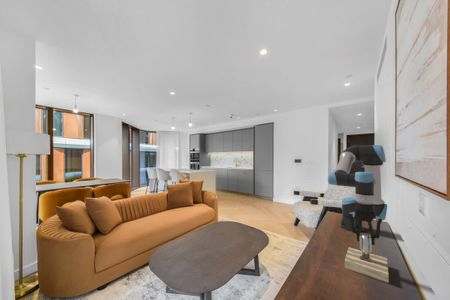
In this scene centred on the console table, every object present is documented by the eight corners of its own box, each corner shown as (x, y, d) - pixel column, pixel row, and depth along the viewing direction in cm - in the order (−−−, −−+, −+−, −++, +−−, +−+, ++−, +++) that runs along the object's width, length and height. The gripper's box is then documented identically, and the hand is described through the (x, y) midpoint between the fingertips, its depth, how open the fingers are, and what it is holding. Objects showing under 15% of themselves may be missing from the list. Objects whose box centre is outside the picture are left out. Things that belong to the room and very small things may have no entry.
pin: (362, 254, 90) (361, 233, 91) (370, 257, 88) (369, 234, 89) (361, 257, 88) (361, 235, 88) (369, 259, 86) (369, 237, 86)
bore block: (348, 254, 99) (348, 247, 99) (387, 266, 89) (386, 258, 89) (344, 268, 87) (344, 259, 87) (388, 283, 77) (388, 274, 77)
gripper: (344, 201, 92) (345, 246, 91) (386, 207, 81) (388, 258, 80) (346, 198, 97) (347, 241, 96) (386, 203, 87) (387, 252, 86)
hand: (365, 249), depth 88 cm, fingers closed on pin, 3 cm apart
